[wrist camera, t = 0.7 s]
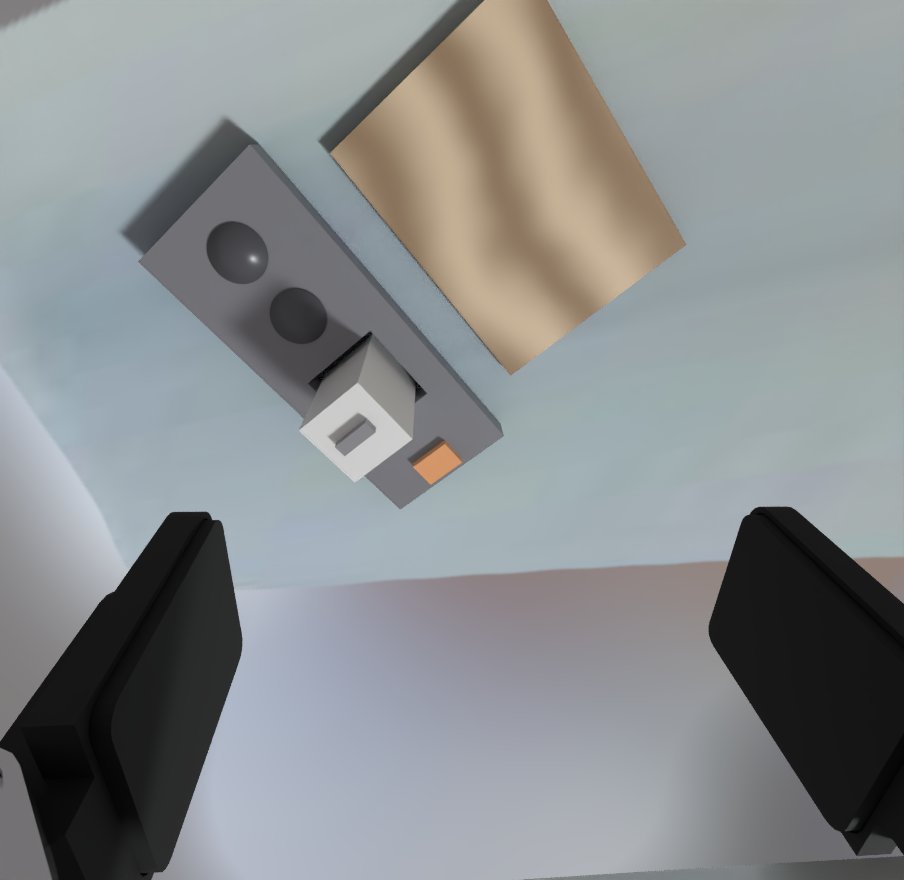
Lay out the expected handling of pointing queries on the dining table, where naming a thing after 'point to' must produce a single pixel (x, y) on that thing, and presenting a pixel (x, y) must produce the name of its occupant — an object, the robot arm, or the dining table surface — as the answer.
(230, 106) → the dining table surface
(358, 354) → the block
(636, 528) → the dining table surface
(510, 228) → the wooden board
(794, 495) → the dining table surface
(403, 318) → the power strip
